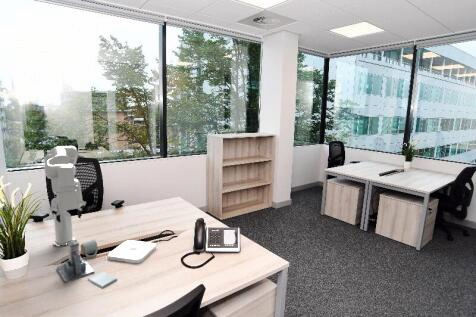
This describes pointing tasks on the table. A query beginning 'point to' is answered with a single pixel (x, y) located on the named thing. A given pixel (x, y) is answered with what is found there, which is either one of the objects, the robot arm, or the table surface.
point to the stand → (74, 269)
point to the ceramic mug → (89, 248)
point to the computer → (132, 251)
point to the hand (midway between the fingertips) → (69, 219)
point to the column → (73, 250)
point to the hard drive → (102, 279)
